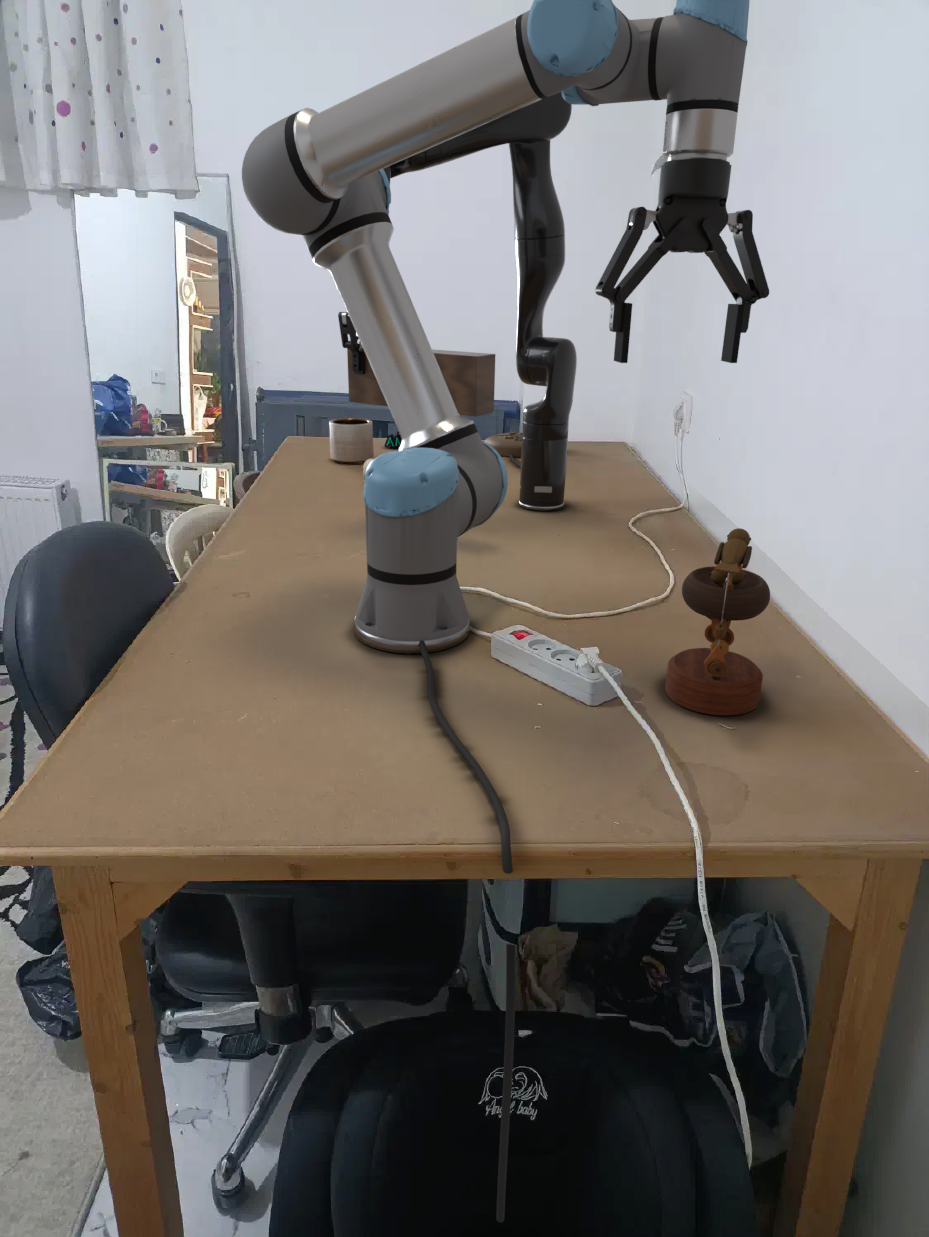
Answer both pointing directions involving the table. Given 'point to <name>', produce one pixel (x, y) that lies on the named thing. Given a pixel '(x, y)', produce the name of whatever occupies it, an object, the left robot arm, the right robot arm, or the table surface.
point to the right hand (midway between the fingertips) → (370, 372)
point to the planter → (351, 440)
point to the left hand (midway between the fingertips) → (675, 362)
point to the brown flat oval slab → (506, 443)
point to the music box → (720, 634)
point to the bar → (462, 374)
